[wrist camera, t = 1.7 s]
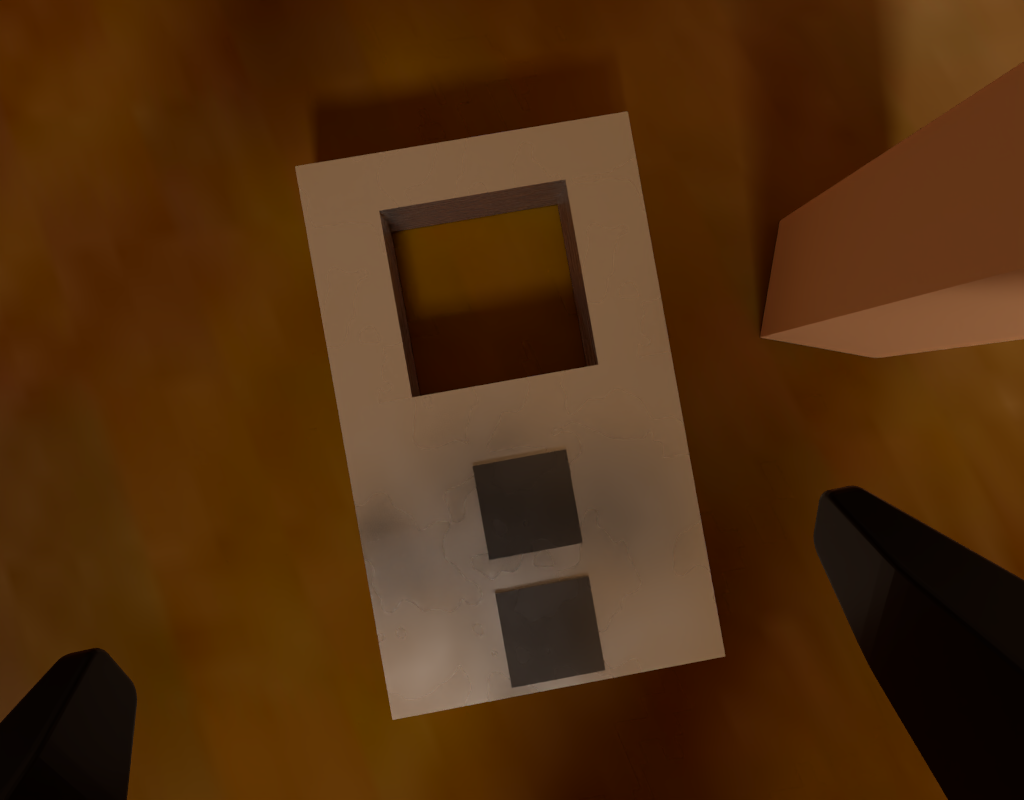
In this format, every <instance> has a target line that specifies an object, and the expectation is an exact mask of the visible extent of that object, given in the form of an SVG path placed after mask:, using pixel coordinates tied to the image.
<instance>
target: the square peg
mask: <svg viewBox="0 0 1024 800" xmlns="http://www.w3.org/2000/svg"><path fill="white" fill-rule="evenodd" d="M760 338H766V339H772V340H777V341H783V342H788V343H794V344H799V345H805V346H811V347H816V348H822V349H827V350H833V351H838V352H844V353H850V354H855V355H861V356H866V357H872V358H881V357H889V356H896V355H904V354H912V353H919V352H927V351H935V350H943V349H950V348H958V347H966V346H973V345H981V344H989V343H997V342H1004V341H1012V340H1020V339H1024V62H1022V63H1021V64H1019V65H1018V66H1016V67H1015V68H1013V69H1012V70H1010V71H1009V72H1007V73H1005V74H1004V75H1002V76H1001V77H999V78H998V79H996V80H995V81H993V82H992V83H990V84H989V85H987V86H986V87H984V88H982V89H981V90H979V91H978V92H976V93H975V94H973V95H972V96H970V97H969V98H967V99H966V100H964V101H963V102H961V103H959V104H958V105H956V106H955V107H953V108H952V109H950V110H949V111H947V112H946V113H944V114H943V115H941V116H939V117H938V118H936V119H935V120H933V121H932V122H930V123H929V124H927V125H926V126H924V127H923V128H921V129H920V130H918V131H916V132H915V133H913V134H912V135H910V136H909V137H907V138H906V139H904V140H903V141H901V142H900V143H898V144H897V145H895V146H893V147H892V148H890V149H889V150H887V151H886V152H884V153H883V154H881V155H880V156H878V157H877V158H875V159H874V160H872V161H870V162H869V163H867V164H866V165H864V166H863V167H861V168H860V169H858V170H857V171H855V172H854V173H852V174H851V175H849V176H847V177H846V178H844V179H843V180H841V181H840V182H838V183H837V184H835V185H834V186H832V187H831V188H829V189H827V190H826V191H824V192H823V193H821V194H820V195H818V196H817V197H815V198H814V199H812V200H811V201H809V202H808V203H806V204H804V205H803V206H801V207H800V208H798V209H797V210H795V211H794V212H792V213H791V214H789V215H788V216H786V217H785V218H783V219H781V220H780V222H779V228H778V234H777V240H776V246H775V252H774V258H773V263H772V269H771V275H770V281H769V287H768V293H767V299H766V305H765V311H764V317H763V322H762V328H761V334H760Z"/></svg>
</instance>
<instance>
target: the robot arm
mask: <svg viewBox="0 0 1024 800" xmlns="http://www.w3.org/2000/svg"><path fill="white" fill-rule="evenodd" d="M814 544H815V548H816V551H817V554H818V556H819V558H820V561H821V563H822V565H823V567H824V569H825V572H826V574H827V576H828V578H829V580H830V582H831V585H832V587H833V589H834V591H835V593H836V596H837V598H838V600H839V602H840V604H841V607H842V609H843V611H844V613H845V615H846V618H847V620H848V622H849V624H850V626H851V629H852V631H853V633H854V635H855V637H856V639H857V642H858V644H859V646H860V648H861V650H862V652H863V654H864V656H865V658H866V660H867V662H868V664H869V666H870V668H871V670H872V672H873V673H874V675H875V677H876V679H877V680H878V682H879V684H880V686H881V687H882V689H883V691H884V692H885V694H886V696H887V697H888V699H889V701H890V702H891V704H892V706H893V708H894V709H895V711H896V713H897V714H898V716H899V718H900V719H901V721H902V723H903V724H904V726H905V728H906V729H907V731H908V733H909V735H910V736H911V738H912V740H913V741H914V743H915V745H916V746H917V748H918V750H919V751H920V753H921V755H922V756H923V758H924V760H925V761H926V763H927V765H928V767H929V768H930V770H931V772H932V773H933V775H934V777H935V778H936V780H937V782H938V783H939V785H940V787H941V788H942V790H943V792H944V794H945V795H946V797H947V799H948V800H1024V580H1023V579H1021V578H1019V577H1018V576H1016V575H1014V574H1012V573H1010V572H1009V571H1007V570H1005V569H1003V568H1002V567H1000V566H998V565H996V564H995V563H993V562H991V561H989V560H988V559H986V558H984V557H982V556H981V555H979V554H977V553H975V552H974V551H972V550H970V549H968V548H966V547H965V546H963V545H961V544H959V543H958V542H956V541H954V540H952V539H951V538H949V537H947V536H945V535H944V534H942V533H940V532H938V531H937V530H935V529H933V528H931V527H930V526H928V525H926V524H924V523H922V522H921V521H919V520H917V519H915V518H914V517H912V516H910V515H908V514H907V513H905V512H903V511H901V510H900V509H898V508H896V507H894V506H893V505H891V504H889V503H887V502H886V501H884V500H882V499H880V498H879V497H877V496H875V495H873V494H871V493H870V492H868V491H866V490H864V489H862V488H860V487H857V486H846V487H841V488H837V489H832V490H827V491H825V492H824V493H823V494H822V495H821V497H820V500H819V506H818V512H817V517H816V523H815V529H814ZM136 706H137V694H136V690H135V687H134V684H133V682H132V681H131V680H130V678H129V677H128V676H127V675H126V674H125V673H124V671H123V670H122V669H121V668H120V667H119V666H118V665H117V663H116V662H115V661H114V660H113V659H112V658H111V657H110V655H109V654H108V653H107V652H106V651H105V650H102V649H99V648H93V649H88V650H83V651H79V652H74V653H70V654H67V655H65V656H63V657H62V658H60V659H59V660H58V661H57V662H56V663H55V664H54V665H53V666H52V667H51V668H50V669H49V671H48V672H47V673H46V674H45V675H44V676H43V677H42V678H41V679H40V680H39V681H38V682H37V684H36V685H35V686H34V687H33V688H32V689H31V690H30V691H29V692H28V693H27V694H26V696H25V697H24V698H23V699H22V700H21V701H20V702H19V703H18V704H17V705H16V706H15V707H14V709H13V710H12V711H11V712H10V713H9V714H8V715H7V716H6V717H5V718H4V719H3V721H2V722H1V723H0V800H127V793H128V783H129V773H130V764H131V754H132V745H133V735H134V726H135V716H136Z"/></svg>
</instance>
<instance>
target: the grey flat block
mask: <svg viewBox="0 0 1024 800" xmlns="http://www.w3.org/2000/svg"><path fill="white" fill-rule="evenodd" d="M295 168H296V174H297V180H298V185H299V191H300V197H301V202H302V208H303V214H304V219H305V225H306V231H307V236H308V242H309V248H310V253H311V259H312V265H313V270H314V276H315V282H316V288H317V293H318V299H319V305H320V310H321V316H322V322H323V327H324V333H325V339H326V344H327V350H328V356H329V361H330V367H331V373H332V378H333V384H334V390H335V396H336V401H337V407H338V413H339V418H340V424H341V430H342V435H343V441H344V447H345V452H346V458H347V464H348V469H349V475H350V481H351V486H352V492H353V498H354V503H355V509H356V515H357V521H358V526H359V532H360V538H361V543H362V549H363V555H364V560H365V566H366V572H367V577H368V583H369V589H370V594H371V600H372V606H373V611H374V617H375V623H376V629H377V634H378V640H379V646H380V651H381V657H382V663H383V668H384V674H385V680H386V685H387V691H388V697H389V702H390V708H391V714H392V719H393V720H394V719H399V718H404V717H410V716H415V715H420V714H425V713H431V712H436V711H441V710H446V709H452V708H457V707H462V706H467V705H473V704H478V703H483V702H489V701H494V700H499V699H504V698H510V697H515V696H520V695H525V694H531V693H536V692H541V691H546V690H552V689H557V688H562V687H567V686H573V685H578V684H583V683H588V682H594V681H599V680H604V679H609V678H615V677H620V676H625V675H630V674H636V673H641V672H646V671H651V670H657V669H662V668H667V667H672V666H678V665H683V664H688V663H693V662H699V661H704V660H709V659H715V658H720V657H725V651H724V646H723V640H722V635H721V629H720V623H719V618H718V612H717V607H716V601H715V595H714V590H713V584H712V579H711V573H710V568H709V562H708V556H707V551H706V545H705V540H704V534H703V528H702V523H701V517H700V512H699V506H698V501H697V495H696V489H695V484H694V478H693V473H692V467H691V462H690V456H689V450H688V445H687V439H686V434H685V428H684V422H683V417H682V411H681V406H680V400H679V395H678V389H677V383H676V378H675V372H674V367H673V361H672V356H671V350H670V344H669V339H668V333H667V328H666V322H665V316H664V311H663V305H662V300H661V294H660V289H659V283H658V277H657V272H656V266H655V261H654V255H653V249H652V244H651V238H650V233H649V227H648V222H647V216H646V210H645V205H644V199H643V194H642V188H641V183H640V177H639V171H638V166H637V160H636V155H635V149H634V143H633V138H632V132H631V127H630V121H629V116H628V111H626V112H620V113H614V114H608V115H602V116H596V117H590V118H584V119H578V120H572V121H566V122H560V123H554V124H548V125H542V126H536V127H530V128H524V129H518V130H512V131H506V132H500V133H494V134H488V135H482V136H476V137H470V138H464V139H458V140H452V141H445V142H439V143H433V144H427V145H421V146H415V147H409V148H403V149H397V150H391V151H385V152H379V153H373V154H367V155H361V156H355V157H349V158H343V159H337V160H331V161H325V162H319V163H313V164H307V165H301V166H295ZM555 204H558V209H559V215H560V221H561V226H562V232H563V237H564V243H565V249H566V254H567V260H568V265H569V271H570V277H571V282H572V288H573V293H574V299H575V305H576V310H577V316H578V321H579V327H580V333H581V338H582V344H583V349H584V355H585V361H586V366H587V367H582V368H576V369H570V370H565V371H559V372H553V373H548V374H542V375H536V376H531V377H525V378H519V379H514V380H508V381H502V382H497V383H491V384H485V385H480V386H474V387H468V388H463V389H457V390H451V391H446V392H440V393H434V394H429V395H423V396H420V391H419V385H418V379H417V374H416V368H415V363H414V357H413V351H412V346H411V340H410V334H409V329H408V323H407V317H406V312H405V306H404V300H403V295H402V289H401V283H400V278H399V272H398V266H397V261H396V255H395V249H394V244H393V238H392V232H395V231H401V230H407V229H413V228H419V227H425V226H430V225H436V224H442V223H448V222H454V221H460V220H466V219H472V218H478V217H484V216H490V215H495V214H501V213H507V212H513V211H519V210H525V209H531V208H537V207H543V206H549V205H555Z"/></svg>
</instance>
